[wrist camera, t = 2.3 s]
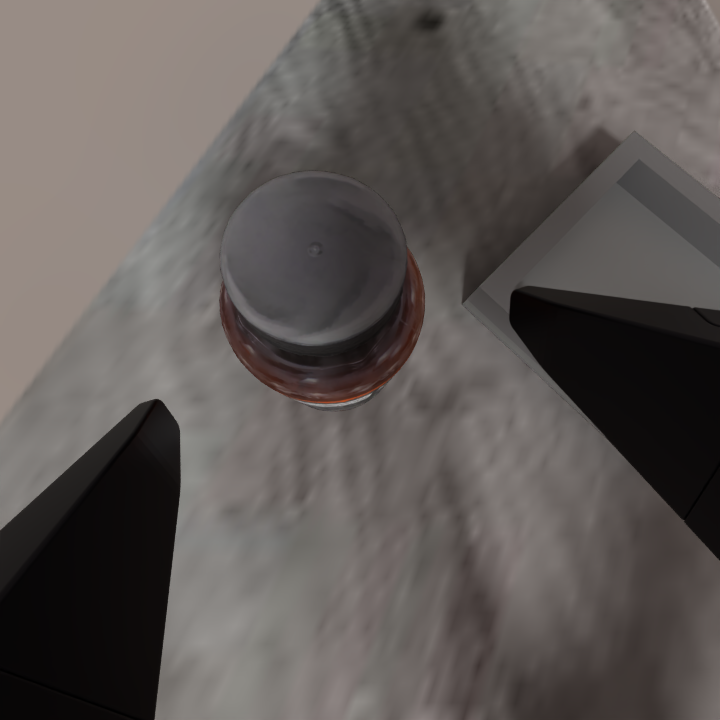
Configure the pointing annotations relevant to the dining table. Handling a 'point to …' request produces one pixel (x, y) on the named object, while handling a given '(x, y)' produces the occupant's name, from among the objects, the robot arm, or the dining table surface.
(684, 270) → the tray
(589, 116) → the dining table surface
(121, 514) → the robot arm
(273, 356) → the supplement bottle
